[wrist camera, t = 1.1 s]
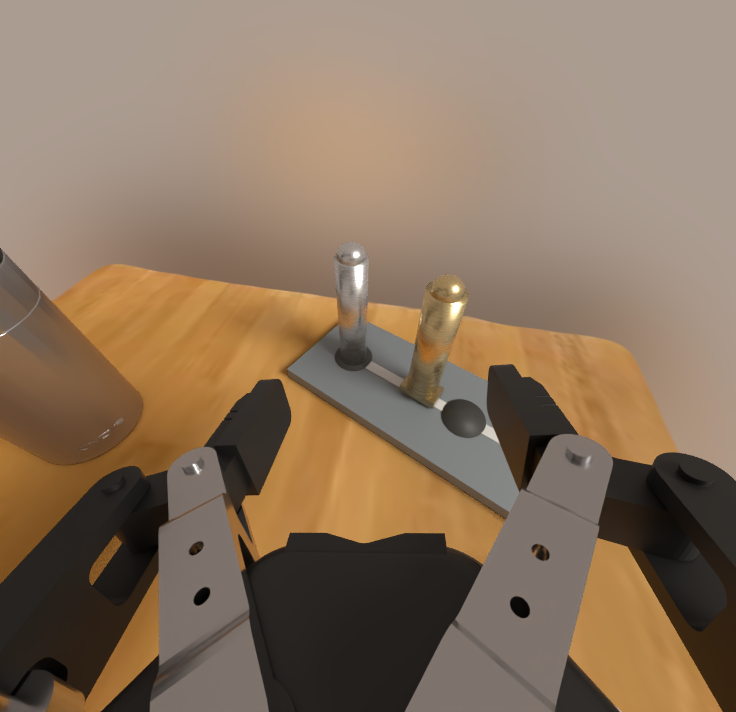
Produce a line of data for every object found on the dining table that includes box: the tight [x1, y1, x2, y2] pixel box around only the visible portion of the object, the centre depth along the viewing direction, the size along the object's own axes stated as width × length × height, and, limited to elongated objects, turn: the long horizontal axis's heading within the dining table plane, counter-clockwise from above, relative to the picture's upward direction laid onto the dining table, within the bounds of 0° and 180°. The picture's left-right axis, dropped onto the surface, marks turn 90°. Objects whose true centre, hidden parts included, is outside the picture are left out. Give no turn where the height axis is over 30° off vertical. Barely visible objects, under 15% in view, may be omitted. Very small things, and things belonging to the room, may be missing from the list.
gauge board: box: [287, 322, 519, 519], centre depth 33 cm, size 28×12×2 cm, turn 55°
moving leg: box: [399, 274, 469, 409], centre depth 27 cm, size 4×3×14 cm
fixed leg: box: [334, 242, 369, 366], centre depth 31 cm, size 3×3×14 cm
